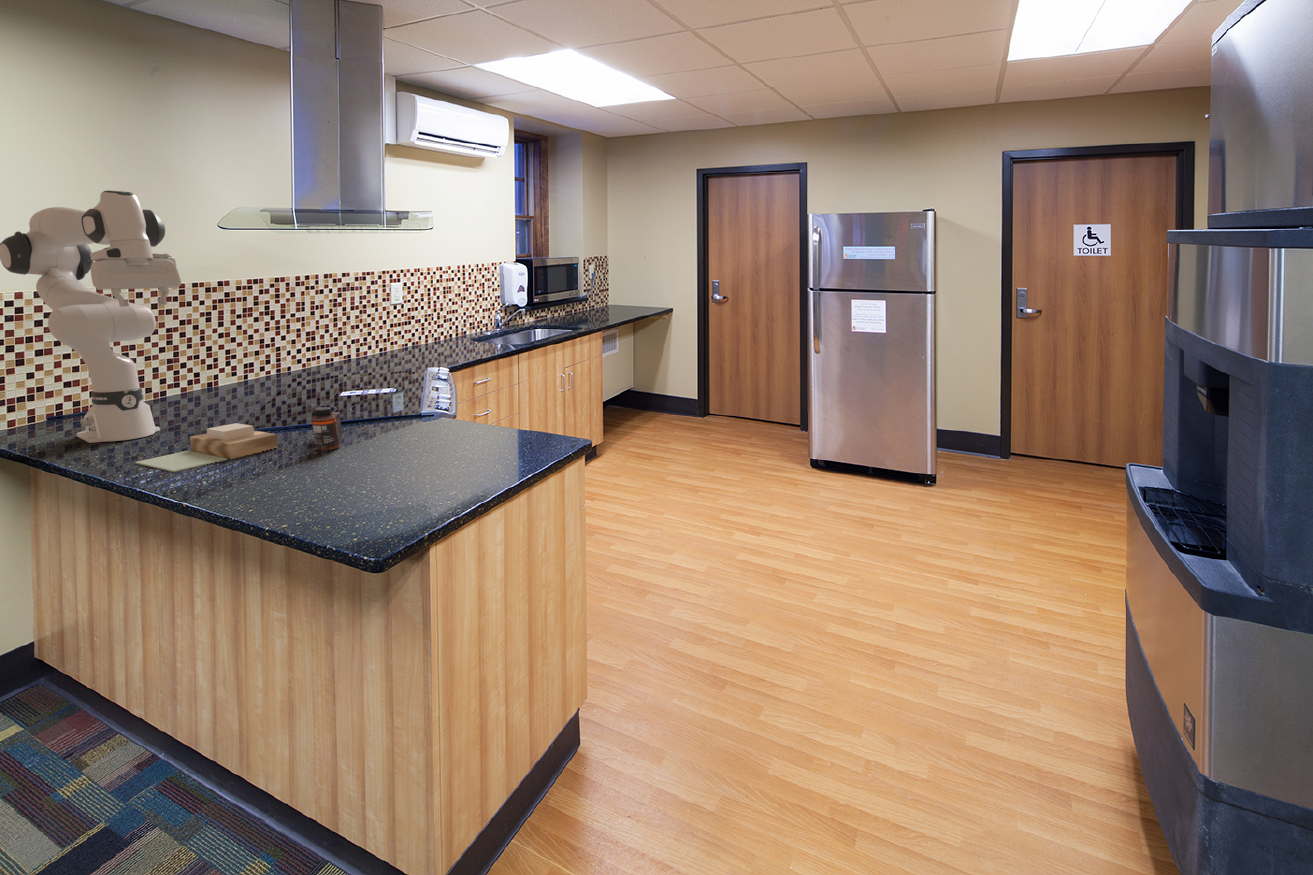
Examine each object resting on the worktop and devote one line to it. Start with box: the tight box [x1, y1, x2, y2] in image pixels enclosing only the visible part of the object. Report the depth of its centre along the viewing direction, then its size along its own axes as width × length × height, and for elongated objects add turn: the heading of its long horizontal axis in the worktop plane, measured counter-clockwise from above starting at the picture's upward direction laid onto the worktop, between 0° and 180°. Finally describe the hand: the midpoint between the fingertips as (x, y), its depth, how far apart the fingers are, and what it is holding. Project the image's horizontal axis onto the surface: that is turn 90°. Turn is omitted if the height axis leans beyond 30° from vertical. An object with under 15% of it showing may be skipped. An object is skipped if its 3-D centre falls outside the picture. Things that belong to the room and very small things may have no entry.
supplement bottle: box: [311, 406, 340, 452], centre depth 194 cm, size 6×6×11 cm
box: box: [313, 412, 343, 440], centre depth 206 cm, size 6×6×7 cm
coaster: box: [206, 422, 255, 440], centre depth 194 cm, size 8×8×2 cm
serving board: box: [189, 430, 279, 460], centre depth 195 cm, size 18×13×4 cm
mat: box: [134, 450, 228, 473], centre depth 184 cm, size 18×13×1 cm
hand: (144, 305), depth 193 cm, fingers open, 8 cm apart
